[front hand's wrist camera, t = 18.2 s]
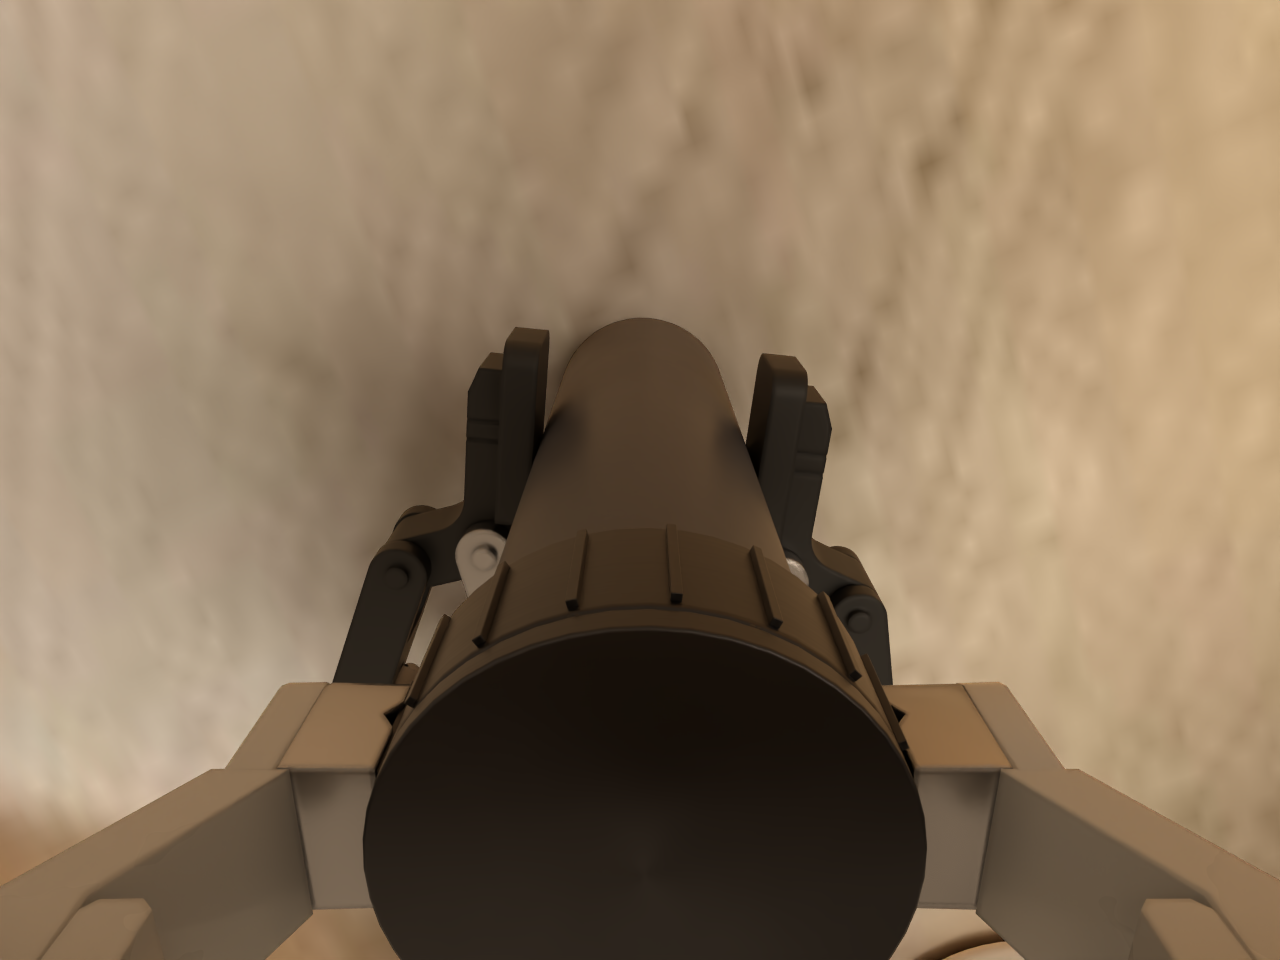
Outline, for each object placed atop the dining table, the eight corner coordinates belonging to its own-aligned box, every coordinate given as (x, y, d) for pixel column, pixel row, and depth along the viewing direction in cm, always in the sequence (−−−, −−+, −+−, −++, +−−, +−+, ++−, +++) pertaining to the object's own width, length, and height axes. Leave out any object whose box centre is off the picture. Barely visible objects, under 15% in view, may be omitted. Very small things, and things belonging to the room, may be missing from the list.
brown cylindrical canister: (578, 301, 24) (458, 583, 8) (742, 338, 24) (925, 676, 9) (547, 457, 25) (397, 943, 10) (701, 490, 25) (795, 1008, 10)
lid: (493, 943, 12) (460, 1115, 10) (343, 579, 10) (264, 694, 8) (905, 866, 11) (965, 1028, 9) (833, 466, 9) (887, 556, 7)
